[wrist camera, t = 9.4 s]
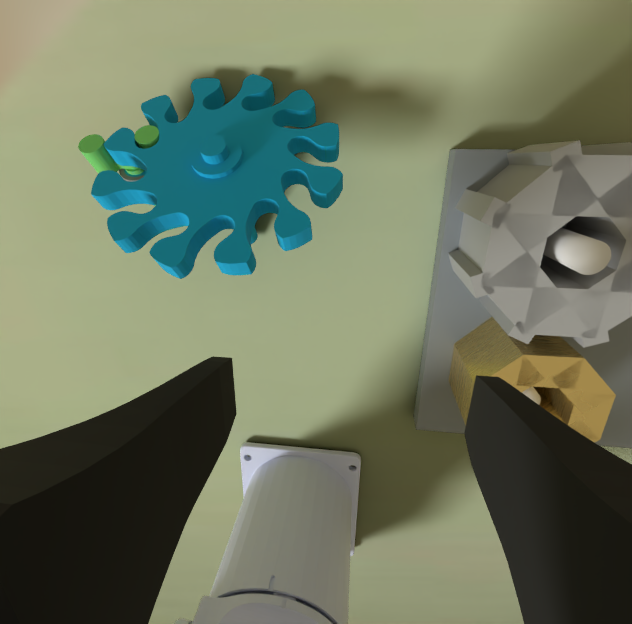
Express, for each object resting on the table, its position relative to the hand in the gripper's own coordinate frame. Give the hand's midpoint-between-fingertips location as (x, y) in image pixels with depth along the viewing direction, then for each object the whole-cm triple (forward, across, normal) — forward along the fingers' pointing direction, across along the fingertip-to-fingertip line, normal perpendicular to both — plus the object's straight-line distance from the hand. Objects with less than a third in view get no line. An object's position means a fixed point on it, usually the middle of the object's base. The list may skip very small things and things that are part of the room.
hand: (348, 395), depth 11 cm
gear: (+10, +6, -6) cm, 13 cm away
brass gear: (+9, -8, +3) cm, 12 cm away
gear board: (+10, -12, 0) cm, 15 cm away
